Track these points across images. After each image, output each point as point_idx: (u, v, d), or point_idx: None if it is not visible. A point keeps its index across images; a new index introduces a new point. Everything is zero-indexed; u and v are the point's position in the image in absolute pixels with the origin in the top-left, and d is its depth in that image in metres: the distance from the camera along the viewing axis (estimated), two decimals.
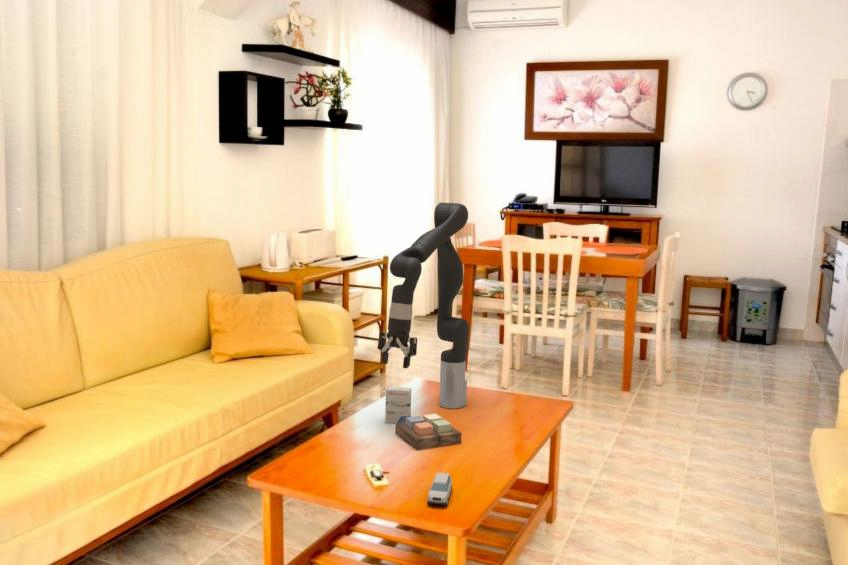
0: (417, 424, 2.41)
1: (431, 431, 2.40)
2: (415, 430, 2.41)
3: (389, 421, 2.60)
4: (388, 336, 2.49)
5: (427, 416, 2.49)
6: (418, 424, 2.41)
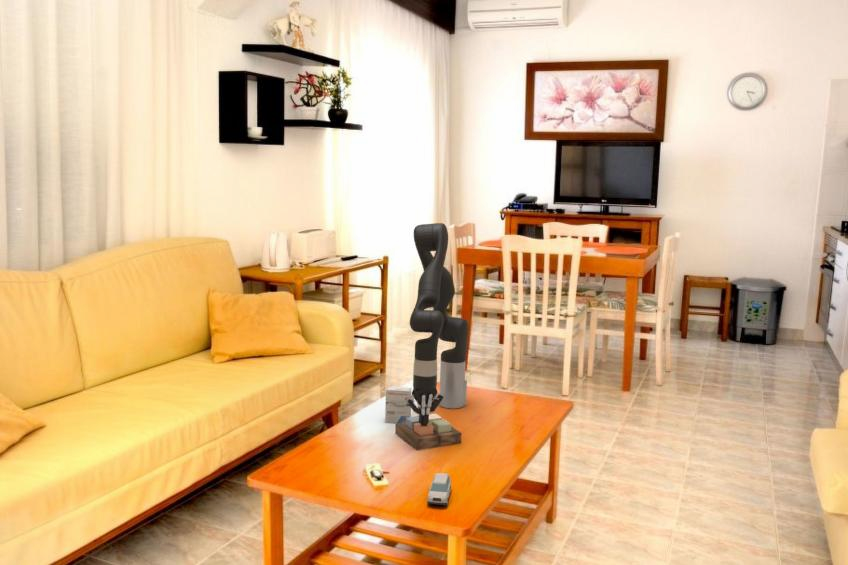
0: (417, 424, 2.41)
1: (431, 431, 2.40)
2: (415, 430, 2.41)
3: (389, 421, 2.60)
4: (417, 395, 2.37)
5: None
6: (418, 424, 2.41)
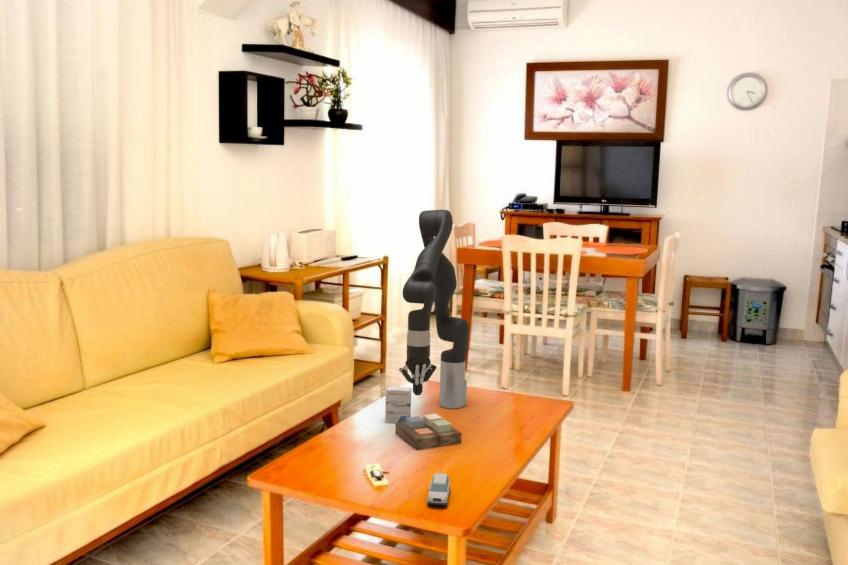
0: (417, 430, 2.41)
1: None
2: None
3: (389, 421, 2.60)
4: (411, 365, 2.41)
5: (427, 416, 2.49)
6: (418, 430, 2.41)
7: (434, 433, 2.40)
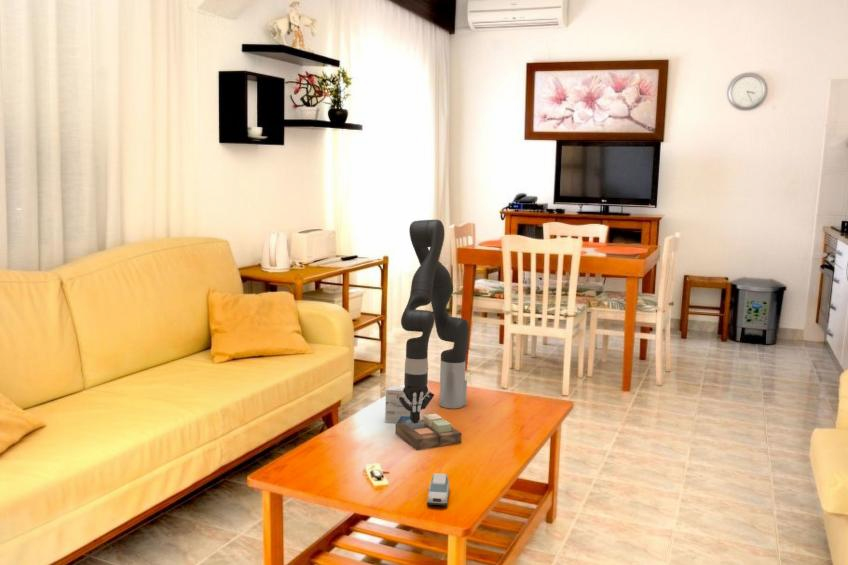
0: (417, 430, 2.41)
1: None
2: None
3: (389, 421, 2.60)
4: (408, 392, 2.43)
5: (427, 416, 2.49)
6: (418, 430, 2.41)
7: (434, 433, 2.40)
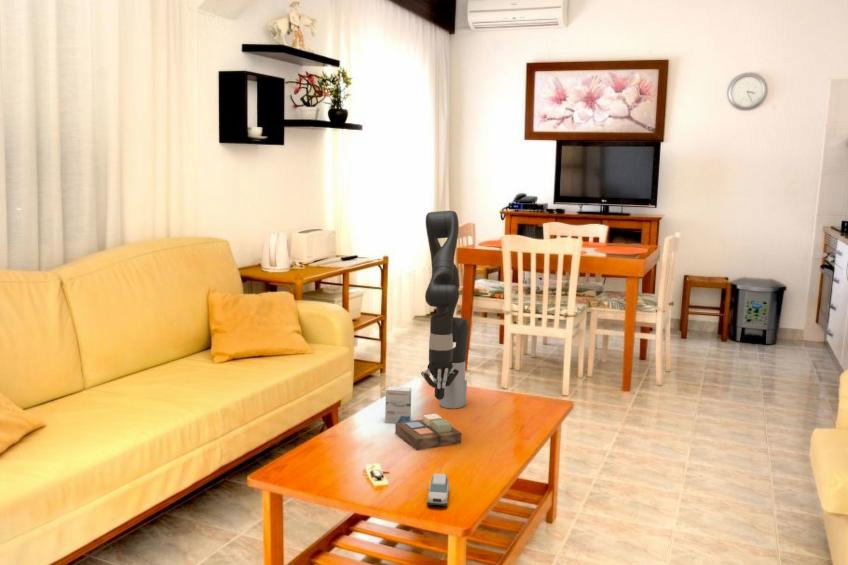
0: (417, 430, 2.41)
1: None
2: None
3: (389, 421, 2.60)
4: (433, 369, 2.39)
5: (427, 416, 2.49)
6: (418, 430, 2.41)
7: (434, 433, 2.40)
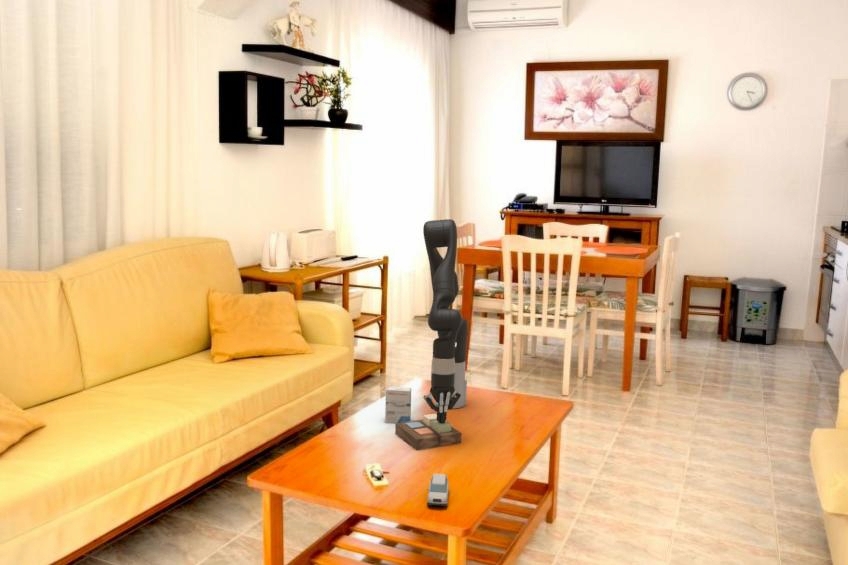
0: (417, 430, 2.41)
1: None
2: None
3: (389, 421, 2.60)
4: (435, 393, 2.40)
5: (427, 416, 2.49)
6: (418, 430, 2.41)
7: (434, 433, 2.40)
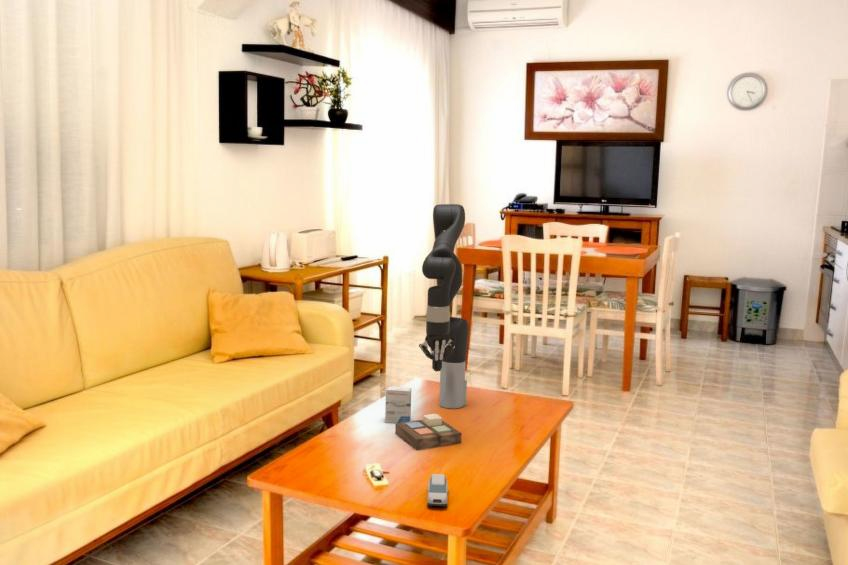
0: (417, 430, 2.41)
1: None
2: None
3: (389, 421, 2.60)
4: (431, 341, 2.41)
5: (427, 416, 2.49)
6: (418, 430, 2.41)
7: (434, 433, 2.40)
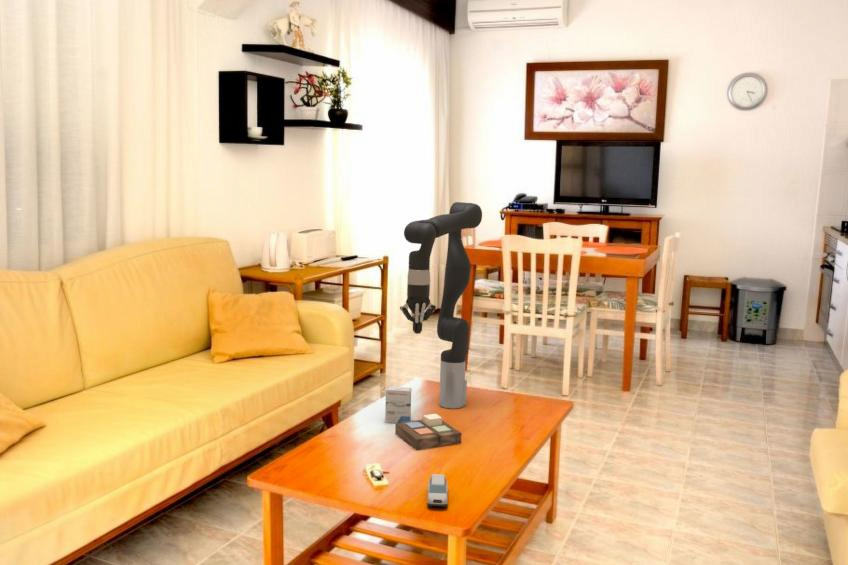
0: (417, 430, 2.41)
1: None
2: None
3: (389, 421, 2.60)
4: (411, 303, 2.50)
5: (427, 416, 2.49)
6: (418, 430, 2.41)
7: (434, 433, 2.40)
